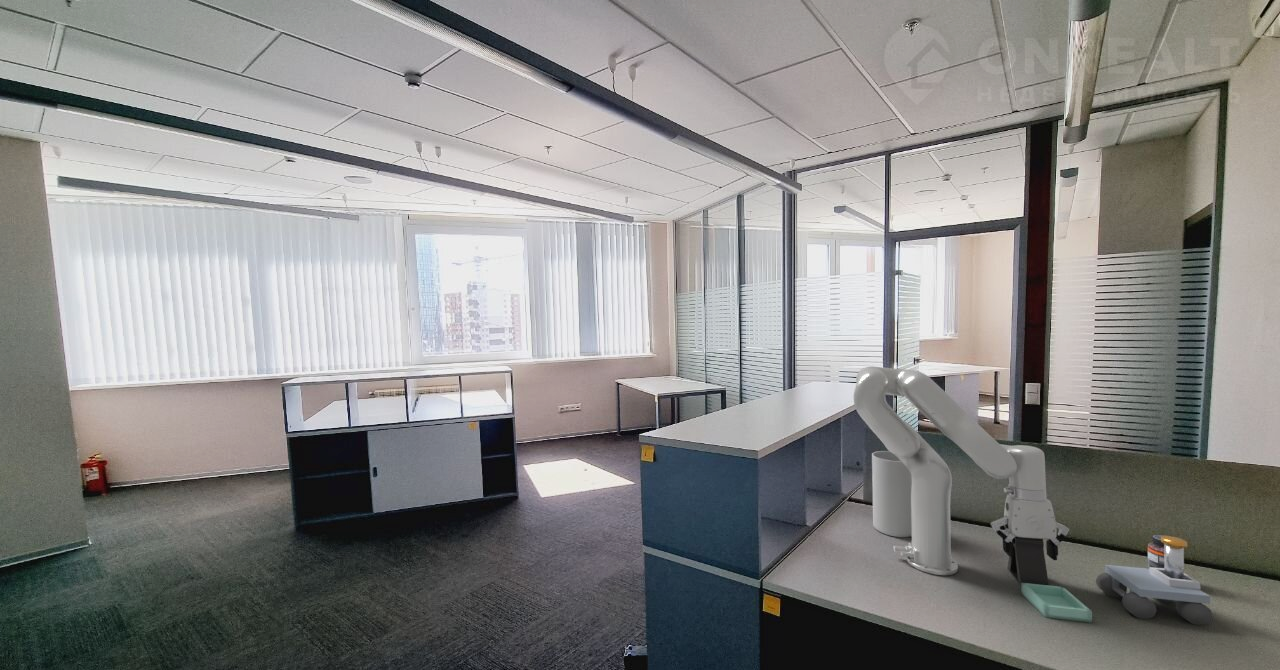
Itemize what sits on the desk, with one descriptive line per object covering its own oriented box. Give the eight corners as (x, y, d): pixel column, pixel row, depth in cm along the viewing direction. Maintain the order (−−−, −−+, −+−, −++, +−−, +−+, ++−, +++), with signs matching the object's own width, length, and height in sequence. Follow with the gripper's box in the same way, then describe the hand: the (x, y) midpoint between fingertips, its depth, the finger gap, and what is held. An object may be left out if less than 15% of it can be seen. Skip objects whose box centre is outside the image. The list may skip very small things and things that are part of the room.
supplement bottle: (1173, 577, 121) (1173, 535, 121) (1188, 589, 115) (1188, 545, 115) (1142, 572, 123) (1142, 531, 123) (1156, 583, 118) (1155, 541, 118)
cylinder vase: (907, 523, 157) (906, 451, 157) (921, 539, 145) (920, 462, 144) (868, 520, 160) (867, 450, 159) (879, 536, 148) (877, 460, 147)
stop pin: (1170, 584, 106) (1170, 542, 105) (1156, 575, 109) (1156, 534, 109) (1192, 587, 105) (1192, 544, 104) (1177, 577, 108) (1177, 536, 108)
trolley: (1213, 627, 101) (1212, 589, 101) (1129, 617, 105) (1129, 581, 105) (1170, 598, 112) (1169, 564, 112) (1095, 590, 116) (1095, 557, 115)
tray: (1045, 617, 106) (1044, 606, 106) (1021, 592, 116) (1021, 582, 115) (1091, 622, 104) (1091, 611, 103) (1063, 597, 113) (1063, 587, 113)
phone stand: (1049, 590, 116) (1049, 544, 116) (1020, 586, 118) (1020, 540, 118) (1034, 572, 125) (1033, 529, 124) (1007, 569, 127) (1007, 526, 127)
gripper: (996, 496, 120) (999, 560, 120) (1076, 499, 115) (1078, 566, 115) (983, 486, 127) (986, 547, 127) (1057, 489, 122) (1060, 552, 123)
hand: (1030, 556), depth 121 cm, fingers open, 9 cm apart
